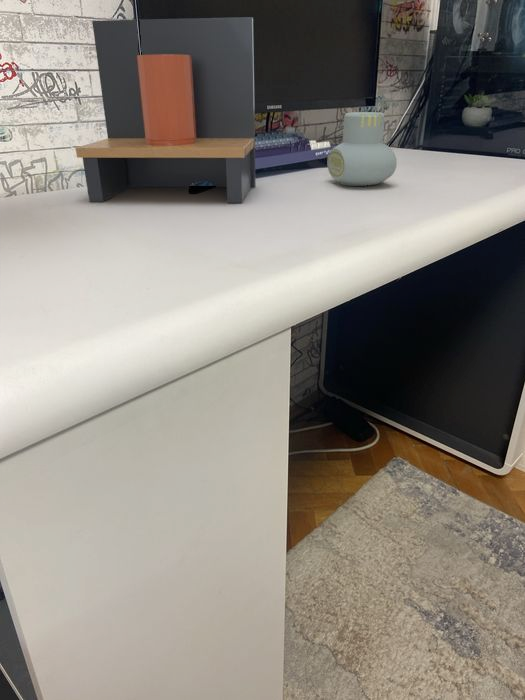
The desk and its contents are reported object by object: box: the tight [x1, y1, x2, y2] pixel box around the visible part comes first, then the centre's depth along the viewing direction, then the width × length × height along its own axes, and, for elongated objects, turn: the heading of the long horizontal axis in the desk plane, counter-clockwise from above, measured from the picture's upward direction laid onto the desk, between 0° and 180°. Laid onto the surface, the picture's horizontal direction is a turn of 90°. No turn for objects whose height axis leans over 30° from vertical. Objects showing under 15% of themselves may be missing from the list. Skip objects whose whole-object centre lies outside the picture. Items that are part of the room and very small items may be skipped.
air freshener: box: [326, 111, 398, 187], centre depth 81 cm, size 11×8×10 cm
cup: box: [136, 55, 196, 146], centre depth 71 cm, size 7×7×10 cm
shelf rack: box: [75, 16, 257, 204], centre depth 72 cm, size 22×13×22 cm, turn 85°
